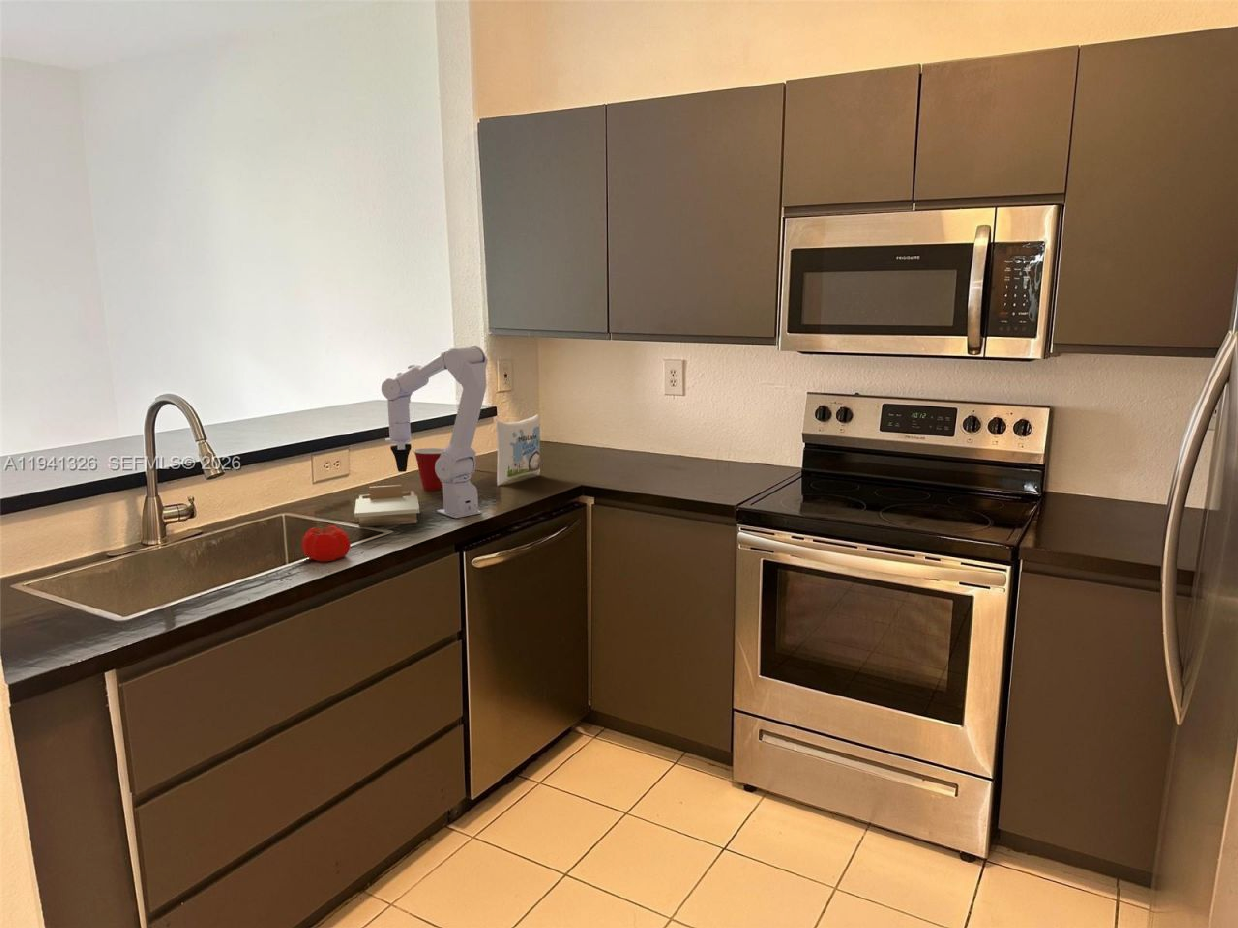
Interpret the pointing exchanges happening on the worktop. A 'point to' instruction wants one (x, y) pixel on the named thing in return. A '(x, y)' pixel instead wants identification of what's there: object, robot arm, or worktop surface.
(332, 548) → the tomato
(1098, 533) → the worktop surface
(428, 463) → the plastic cup
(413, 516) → the storage box
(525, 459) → the pouch
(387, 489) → the lid
